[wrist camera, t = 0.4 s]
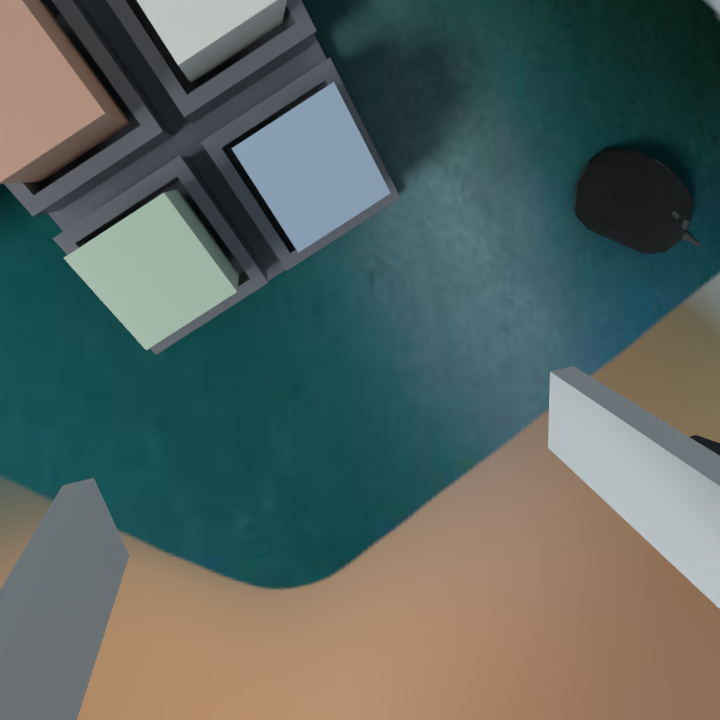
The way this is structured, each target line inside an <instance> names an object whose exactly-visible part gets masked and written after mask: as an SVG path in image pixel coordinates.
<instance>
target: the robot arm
mask: <svg viewBox="0 0 720 720" xmlns="http://www.w3.org/2000/svg"><path fill="white" fill-rule="evenodd" d="M548 448H549V449H550V450H552V452H553V453H554V454H556V455H557V456H558V457H559V458H560V459H561V460H562V461H563V462H564V463H565V464H566V465H567V466H568V467H569V468H570V469H572V471H574V472H575V473H576V474H577V475H578V476H579V477H580V478H581V479H582V480H583V481H584V482H585V483H586V484H587V485H588V486H590V487H591V488H592V489H593V490H594V491H595V492H596V493H597V494H598V495H599V496H600V497H601V498H602V499H603V500H604V501H606V502H607V503H608V504H609V505H610V506H611V507H612V508H613V509H614V510H615V511H616V512H617V513H619V515H620V516H621V517H623V518H624V519H625V520H626V521H627V522H628V523H629V524H630V525H631V526H632V527H633V528H634V529H635V530H637V531H638V532H639V533H640V534H641V535H642V536H643V537H644V538H645V539H646V540H647V541H648V542H649V543H650V544H651V545H652V546H653V547H655V548H656V549H657V550H658V551H659V552H660V553H661V554H662V555H663V556H664V557H665V558H666V559H667V560H668V561H670V563H672V564H673V565H674V566H675V567H676V568H677V569H678V570H679V571H680V572H681V573H682V574H683V575H684V576H685V577H686V578H688V579H689V580H690V581H691V582H692V583H693V584H694V585H695V586H696V587H697V588H698V589H699V590H700V591H701V592H702V593H704V594H705V595H706V596H707V597H708V598H709V599H710V600H711V601H712V602H713V603H715V605H716V606H717V607H718V608H719V609H720V443H717V442H714V441H711V440H709V439H706V438H703V437H700V436H697V435H694V436H690V437H688V436H687V435H685V434H683V433H681V432H680V431H678V430H677V429H675V428H673V427H672V426H670V425H669V424H667V423H665V422H664V421H662V420H660V419H659V418H657V417H656V416H654V415H652V414H651V413H649V412H647V411H646V410H644V409H642V408H641V407H639V406H638V405H636V404H634V403H632V402H631V401H629V400H628V399H626V398H624V397H623V396H621V395H619V394H618V393H616V392H615V391H613V390H611V389H610V388H608V387H606V386H605V385H603V384H602V383H600V382H598V381H597V380H595V379H593V378H592V377H590V376H588V375H587V374H585V373H584V372H582V371H580V370H579V369H577V368H575V367H574V366H572V367H568V368H563V369H559V370H555V371H550V397H549V433H548ZM128 558H129V554H128V552H127V550H126V548H125V546H124V543H123V541H122V539H121V537H120V535H119V532H118V530H117V528H116V526H115V524H114V522H113V519H112V517H111V515H110V513H109V511H108V508H107V506H106V504H105V502H104V500H103V497H102V495H101V493H100V491H99V489H98V487H97V484H96V482H95V480H94V478H92V479H88V480H84V481H79V482H75V483H71V484H66V485H63V486H62V487H61V489H60V491H59V492H58V494H57V496H56V497H55V499H54V501H53V502H52V504H51V506H50V508H49V509H48V511H47V512H46V514H45V516H44V518H43V519H42V521H41V523H40V524H39V526H38V527H37V529H36V531H35V532H34V534H33V536H32V537H31V539H30V541H29V543H28V544H27V546H26V547H25V549H24V551H23V553H22V554H21V556H20V558H19V559H18V561H17V562H16V564H15V566H14V567H13V569H12V571H11V573H10V574H9V576H8V577H7V579H6V581H5V582H4V584H3V586H2V588H1V589H0V720H77V717H78V714H79V711H80V708H81V705H82V702H83V698H84V695H85V692H86V689H87V686H88V683H89V680H90V677H91V674H92V670H93V667H94V664H95V661H96V658H97V655H98V652H99V648H100V645H101V642H102V639H103V636H104V633H105V630H106V626H107V623H108V620H109V617H110V614H111V611H112V608H113V605H114V602H115V598H116V595H117V592H118V589H119V585H120V583H121V580H122V576H123V573H124V570H125V567H126V564H127V561H128Z"/></svg>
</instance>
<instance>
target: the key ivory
mask: <svg viewBox="0 0 720 720" xmlns="http://www.w3.org/2000/svg"><path fill="white" fill-rule="evenodd" d="M137 2H138V3H139V5H140V7H141V8H142V10H143V11H144V13H145V14H146V16H147V18H148V19H149V21H150V22H151V24H152V25H153V27H154V28H155V30H156V32H157V33H158V35H159V36H160V38H161V39H162V41H163V43H164V44H165V46H166V47H167V49H168V50H169V52H170V53H171V55H172V57H173V58H174V60H175V61H176V63H177V64H178V66H179V67H180V69H181V70H182V71H183V73H184V74H185V76H186V77H187V79H188V80H189V81H190V83H192V82H194V81H195V80H197V79H198V78H200V77H201V76H203V75H205V74H206V73H208V72H209V71H211V70H212V69H214V68H215V67H217V66H218V65H220V64H221V63H223V62H224V61H226V60H227V59H229V58H230V57H232V56H233V55H235V54H237V53H238V52H240V51H241V50H243V49H244V48H246V47H247V46H249V45H250V44H252V43H253V42H255V41H256V40H258V39H259V38H261V37H262V36H264V35H265V34H267V33H268V32H270V31H272V30H273V29H275V28H276V27H278V26H279V25H281V24H282V21H283V16H284V11H285V7H286V2H287V0H137Z"/></svg>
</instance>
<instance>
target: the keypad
mask: <svg viewBox="0 0 720 720" xmlns="http://www.w3.org/2000/svg"><path fill="white" fill-rule="evenodd" d="M40 1H41V2H42V3H43V4H45V5H46V6H47V7H48V8H49V10H50V11H51V13H52V14H53V15H54V17H55V18H56V20H57V21H58V22H59V24H60V25H61V27H62V28H63V29H64V31H65V32H66V33H67V35H68V36H69V38H70V39H71V40H72V42H73V43H74V45H75V46H76V47H77V49H78V50H79V52H80V53H81V54H82V56H83V57H84V58H85V60H86V61H87V63H88V64H89V65H90V67H91V68H92V70H93V71H94V72H95V74H96V75H97V77H98V78H99V79H100V81H101V82H102V84H103V85H104V86H105V88H106V89H107V90H108V92H109V93H110V95H111V96H112V97H113V99H114V100H115V102H116V103H117V104H118V106H119V107H120V109H121V110H122V111H123V113H124V114H125V115H126V117H127V118H128V120H129V121H130V122H131V123H130V124H128V125H127V126H125V127H124V128H122V129H121V130H119V131H118V132H116V133H115V134H113V135H112V136H110V137H109V138H107V139H106V140H104V141H102V142H101V143H99V144H98V145H96V146H95V147H93V148H92V149H90V150H89V151H87V152H86V153H84V154H83V155H81V156H80V157H78V158H77V159H75V160H74V161H72V162H70V163H69V164H67V165H66V166H64V167H63V168H61V169H60V170H58V171H57V172H55V173H54V174H52V175H51V176H49V177H48V178H46V179H45V180H43V181H42V182H26V183H10V184H5V186H6V187H7V188H8V189H9V190H10V191H11V192H12V193H13V195H14V196H15V197H16V198H17V199H18V200H19V201H20V202H21V204H22V205H23V206H24V207H25V208H26V209H27V210H28V211H29V213H30V214H31V215H32V216H38V215H42V214H47V213H48V214H49V215H50V216H51V218H52V219H53V220H54V221H55V222H56V223H57V224H58V226H59V227H60V228H61V229H62V230H63V232H62V233H60V234H59V235H57V236H56V237H54V238H53V240H54V241H55V242H56V243H57V244H58V245H59V246H60V247H61V249H62V250H63V251H64V252H65V253H66V254H67V255H69V254H70V253H72V252H73V251H75V250H76V249H78V248H80V247H81V246H83V245H84V244H86V243H87V242H89V241H90V240H92V239H93V238H95V237H96V236H98V235H100V234H101V233H103V232H104V231H106V230H107V229H109V228H110V227H112V226H113V225H115V224H116V223H118V222H119V221H121V220H123V219H124V218H126V217H127V216H129V215H130V214H132V213H133V212H135V211H136V210H138V209H139V208H141V207H143V206H144V205H146V204H147V203H149V202H150V201H152V200H153V199H155V198H156V197H158V196H159V195H161V194H162V193H164V192H168V191H172V190H175V189H179V191H180V192H181V193H182V195H183V196H184V197H185V199H186V200H187V202H188V203H189V204H190V206H191V207H192V209H193V210H194V211H195V213H196V214H197V216H198V217H199V218H200V220H201V221H202V222H203V224H204V225H205V227H206V228H207V229H208V231H209V232H210V234H211V235H212V236H213V238H214V239H215V241H216V242H217V243H218V245H219V246H220V247H221V249H222V250H223V252H224V253H225V254H226V256H227V257H228V259H229V260H230V261H231V263H232V264H233V266H234V267H235V268H236V270H237V271H238V272H239V280H238V288H237V292H236V293H235V294H233V295H232V296H230V297H228V298H227V299H225V300H224V301H222V302H221V303H219V304H218V305H216V306H214V307H213V308H211V309H210V310H208V311H207V312H205V313H204V314H202V315H200V316H199V317H197V318H196V319H194V320H193V321H191V322H190V323H188V324H186V325H185V326H183V327H182V328H180V329H179V330H177V331H176V332H174V333H172V334H171V335H169V336H168V337H166V338H165V339H163V340H162V341H160V342H158V343H157V344H155V345H154V346H152V347H151V348H150V349H151V350H152V351H153V352H154V353H155V354H158V353H160V352H161V351H163V350H164V349H166V348H167V347H169V346H170V345H172V344H174V343H175V342H177V341H178V340H180V339H181V338H183V337H184V336H186V335H188V334H189V333H191V332H192V331H194V330H195V329H197V328H198V327H200V326H202V325H203V324H205V323H206V322H208V321H209V320H211V319H212V318H214V317H216V316H217V315H219V314H220V313H222V312H223V311H225V310H227V309H228V308H230V307H231V306H233V305H234V304H236V303H237V302H239V301H241V300H242V299H244V298H245V297H247V296H248V295H250V294H251V293H253V292H255V291H256V290H258V289H259V288H261V287H262V286H264V285H265V284H267V283H268V281H269V280H270V279H272V278H274V277H275V276H277V275H278V274H280V273H281V272H283V271H285V270H286V271H287V270H289V269H290V268H292V267H293V266H295V265H297V264H298V263H300V262H301V261H303V260H304V259H306V258H308V257H309V256H311V255H312V254H314V253H315V252H317V251H318V250H320V249H322V248H323V247H325V246H326V245H328V244H329V243H331V242H332V241H334V240H336V239H337V238H339V237H340V236H342V235H343V234H345V233H346V232H348V231H350V230H351V229H353V228H354V227H356V226H357V225H359V224H360V223H362V222H364V221H365V220H367V219H368V218H370V217H371V216H373V215H375V214H376V213H378V212H379V211H381V210H382V209H384V208H385V207H387V206H389V205H390V204H392V203H393V202H395V201H396V200H398V199H399V198H400V196H399V194H398V192H397V190H396V188H395V186H394V184H393V182H392V180H391V178H390V176H389V174H388V172H387V170H386V168H385V166H384V164H383V162H382V160H381V158H380V156H379V154H378V152H377V150H376V148H375V146H374V144H373V142H372V140H371V138H370V136H369V134H368V132H367V130H366V128H365V126H364V124H363V122H362V120H361V118H360V116H359V114H358V112H357V110H356V108H355V106H354V104H353V102H352V100H351V98H350V96H349V94H348V92H347V90H346V88H345V86H344V84H343V82H342V80H341V78H340V76H339V74H338V72H337V70H336V68H335V66H334V64H333V62H332V60H331V58H328V59H326V57H325V55H324V53H323V51H322V49H321V47H320V45H319V43H318V41H317V39H316V37H315V33H316V31H317V30H316V29H315V27H314V25H313V23H312V21H311V19H310V17H309V15H308V13H307V11H306V9H305V7H304V5H303V3H302V1H301V0H287V2H286V7H285V11H284V16H283V21H282V24H281V25H279V26H278V27H276V28H275V29H273V30H272V31H270V32H268V33H267V34H265V35H264V36H262V37H261V38H259V39H258V40H256V41H255V42H253V43H252V44H250V45H249V46H247V47H246V48H244V49H243V50H241V51H240V52H238V53H237V54H235V55H233V56H232V57H230V58H229V59H227V60H226V61H224V62H223V63H221V64H220V65H218V66H217V67H215V68H214V69H212V70H211V71H209V72H208V73H206V74H205V75H203V76H201V77H200V78H198V79H197V80H195V81H194V82H192V83H190V81H189V80H188V79H187V77H186V76H185V74H184V73H183V71H182V70H181V69H180V67H179V66H178V64H177V63H176V61H175V60H174V58H173V57H172V55H171V53H170V52H169V50H168V49H167V47H166V46H165V44H164V43H163V41H162V39H161V38H160V36H159V35H158V33H157V32H156V30H155V28H154V27H153V25H152V24H151V22H150V21H149V19H148V18H147V16H146V14H145V13H144V11H143V10H142V8H141V7H140V5H139V3H138V2H137V0H40ZM333 82H334V83H335V85H336V87H337V89H338V91H339V93H340V95H341V97H342V99H343V101H344V103H345V105H346V107H347V109H348V110H349V112H350V114H351V116H352V118H353V120H354V122H355V124H356V126H357V128H358V130H359V132H360V134H361V136H362V138H363V140H364V142H365V144H366V146H367V148H368V150H369V152H370V154H371V156H372V158H373V160H374V161H375V163H376V165H377V167H378V169H379V171H380V173H381V175H382V177H383V179H384V181H385V183H386V185H387V187H388V189H389V191H390V194H389V195H387V196H386V197H384V198H383V199H381V200H379V201H378V202H376V203H375V204H373V205H372V206H370V207H369V208H367V209H365V210H364V211H362V212H361V213H359V214H358V215H356V216H355V217H353V218H351V219H350V220H348V221H347V222H345V223H344V224H342V225H341V226H339V227H337V228H336V229H334V230H333V231H331V232H330V233H328V234H327V235H325V236H323V237H322V238H320V239H319V240H317V241H316V242H314V243H313V244H311V245H309V246H308V247H306V248H305V249H303V250H302V251H300V252H297V250H296V248H295V247H294V245H293V244H292V242H291V241H290V239H289V238H288V236H287V234H286V233H285V231H284V230H283V228H282V227H281V225H280V224H279V222H278V220H277V219H276V217H275V216H274V214H273V213H272V211H271V209H270V208H269V206H268V205H267V203H266V202H265V200H264V199H263V197H262V195H261V194H260V192H259V191H258V189H257V188H256V186H255V185H254V183H253V181H252V180H251V178H250V177H249V175H248V174H247V172H246V170H245V169H244V167H243V166H242V164H241V163H240V161H239V160H238V158H237V156H236V155H235V153H234V152H233V150H232V148H233V147H235V146H236V145H238V144H239V143H241V142H242V141H244V140H245V139H247V138H248V137H250V136H252V135H253V134H255V133H256V132H258V131H259V130H261V129H262V128H264V127H265V126H267V125H268V124H270V123H272V122H273V121H275V120H276V119H278V118H279V117H281V116H282V115H284V114H285V113H287V112H288V111H290V110H291V109H293V108H295V107H296V106H298V105H299V104H301V103H302V102H304V101H305V100H307V99H308V98H310V97H311V96H313V95H315V94H316V93H318V92H319V91H321V90H322V89H324V88H325V87H327V86H328V85H330V84H331V83H333Z"/></svg>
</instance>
